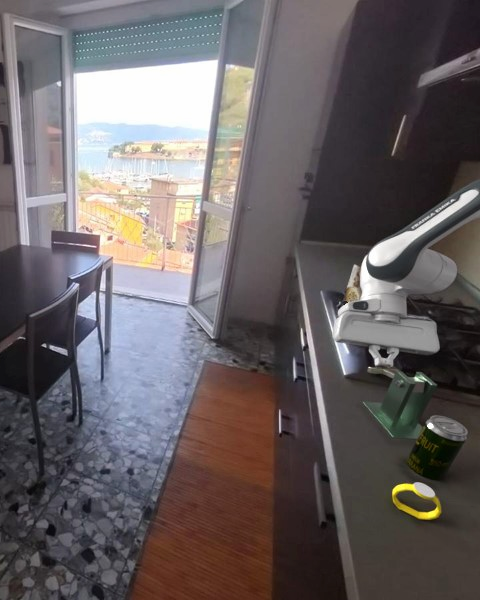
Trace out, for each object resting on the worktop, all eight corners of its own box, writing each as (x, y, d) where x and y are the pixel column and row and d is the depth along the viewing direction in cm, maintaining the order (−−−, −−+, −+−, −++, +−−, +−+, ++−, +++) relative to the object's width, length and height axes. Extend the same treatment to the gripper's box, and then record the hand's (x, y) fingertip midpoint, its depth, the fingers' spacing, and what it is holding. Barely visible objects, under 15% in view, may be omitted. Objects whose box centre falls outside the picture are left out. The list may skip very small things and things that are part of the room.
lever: (366, 374, 85) (368, 364, 85) (394, 375, 85) (395, 365, 84) (401, 391, 75) (403, 380, 74) (433, 393, 74) (435, 382, 74)
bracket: (361, 405, 86) (379, 361, 80) (397, 407, 85) (418, 363, 79) (391, 441, 76) (414, 393, 70) (433, 444, 75) (459, 396, 69)
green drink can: (424, 460, 71) (449, 414, 66) (449, 484, 66) (478, 436, 61) (397, 460, 71) (420, 414, 66) (420, 484, 66) (447, 437, 61)
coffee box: (375, 314, 127) (391, 271, 120) (357, 314, 127) (372, 272, 120) (358, 303, 135) (371, 262, 128) (340, 303, 135) (353, 263, 128)
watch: (387, 507, 63) (399, 484, 60) (387, 496, 64) (399, 473, 62) (433, 529, 59) (448, 505, 57) (432, 516, 61) (446, 492, 58)
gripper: (427, 321, 87) (430, 377, 83) (330, 310, 94) (329, 360, 90) (444, 313, 82) (448, 372, 78) (340, 301, 88) (339, 355, 84)
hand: (383, 366), depth 84 cm, fingers closed
